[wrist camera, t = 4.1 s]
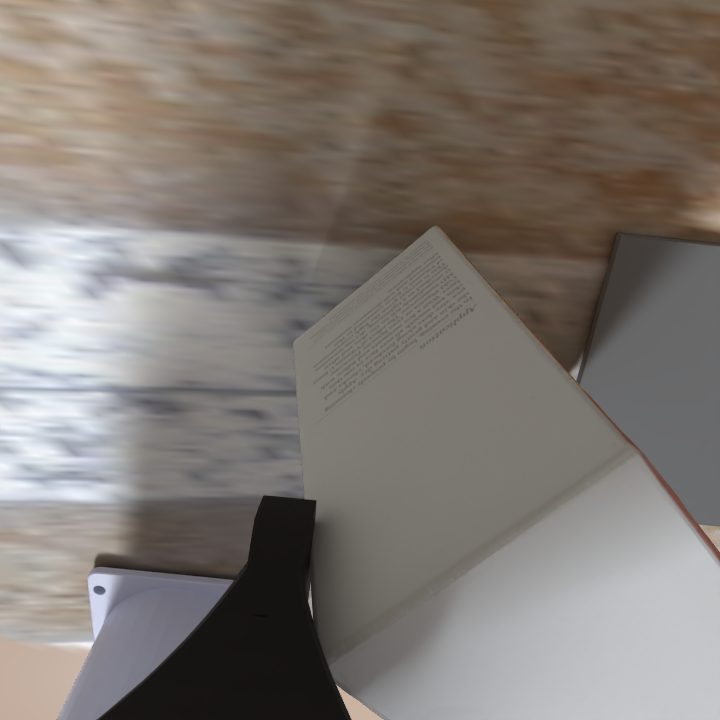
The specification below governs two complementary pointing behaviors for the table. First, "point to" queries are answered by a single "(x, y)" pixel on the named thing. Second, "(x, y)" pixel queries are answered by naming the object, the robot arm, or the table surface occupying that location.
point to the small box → (489, 518)
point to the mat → (662, 361)
